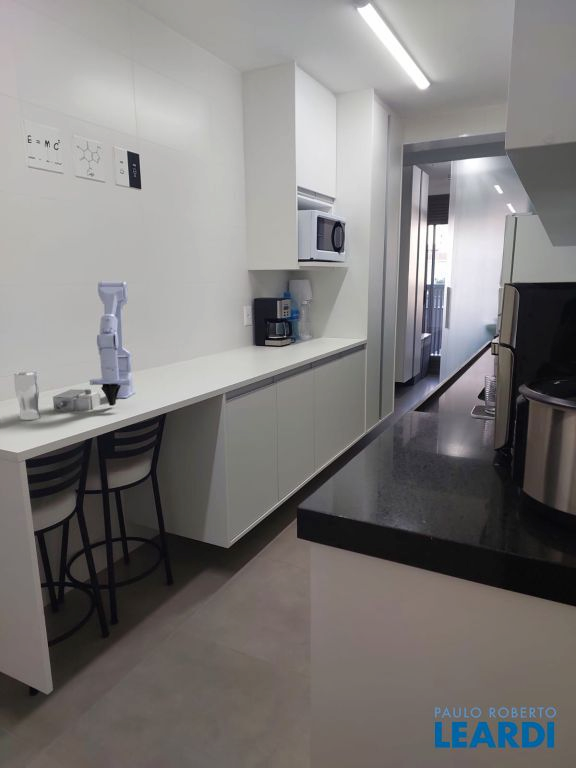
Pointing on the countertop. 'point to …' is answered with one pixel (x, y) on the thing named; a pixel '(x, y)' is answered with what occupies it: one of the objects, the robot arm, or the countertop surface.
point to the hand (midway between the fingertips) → (112, 404)
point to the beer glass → (27, 395)
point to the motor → (71, 401)
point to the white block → (91, 397)
